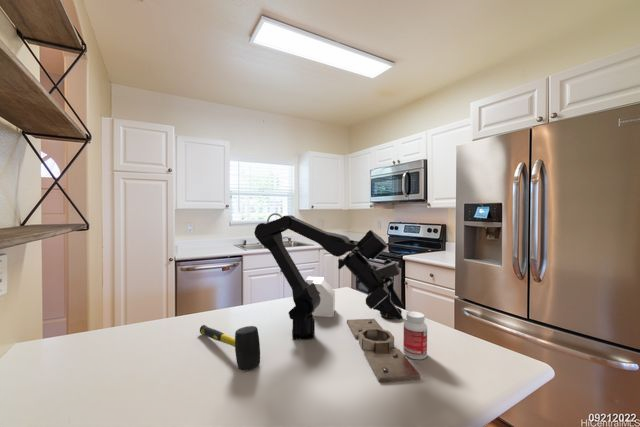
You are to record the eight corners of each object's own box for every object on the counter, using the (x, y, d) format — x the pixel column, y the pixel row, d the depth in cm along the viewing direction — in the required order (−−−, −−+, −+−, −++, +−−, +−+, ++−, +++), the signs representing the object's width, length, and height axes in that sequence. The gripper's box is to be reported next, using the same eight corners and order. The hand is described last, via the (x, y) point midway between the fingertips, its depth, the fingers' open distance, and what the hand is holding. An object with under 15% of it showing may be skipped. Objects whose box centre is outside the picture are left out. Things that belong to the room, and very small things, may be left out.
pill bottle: (427, 362, 71) (428, 320, 71) (403, 358, 73) (403, 317, 73) (426, 350, 77) (426, 311, 77) (403, 347, 79) (403, 309, 79)
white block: (308, 305, 113) (308, 276, 113) (335, 306, 111) (335, 277, 111) (302, 315, 102) (303, 283, 102) (332, 317, 101) (333, 284, 101)
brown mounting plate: (420, 379, 64) (420, 366, 64) (379, 382, 63) (379, 369, 63) (374, 321, 97) (374, 313, 97) (346, 322, 96) (346, 314, 96)
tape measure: (402, 318, 101) (402, 308, 101) (388, 321, 97) (388, 311, 97) (389, 312, 107) (389, 302, 107) (375, 315, 103) (376, 305, 103)
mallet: (192, 337, 84) (192, 306, 84) (211, 331, 89) (211, 301, 89) (244, 377, 64) (244, 336, 64) (265, 366, 69) (265, 328, 69)
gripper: (378, 256, 69) (425, 305, 65) (385, 247, 86) (422, 285, 83) (348, 285, 71) (391, 333, 68) (360, 270, 89) (395, 308, 86)
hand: (401, 312), depth 76 cm, fingers open, 9 cm apart
